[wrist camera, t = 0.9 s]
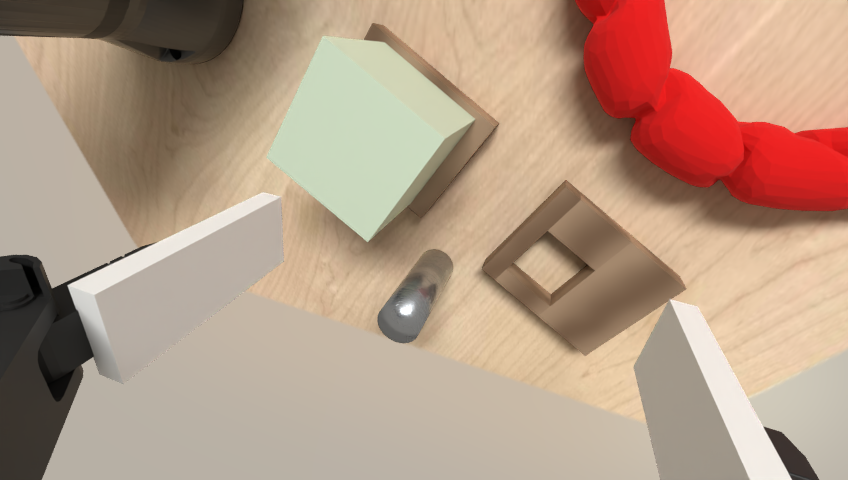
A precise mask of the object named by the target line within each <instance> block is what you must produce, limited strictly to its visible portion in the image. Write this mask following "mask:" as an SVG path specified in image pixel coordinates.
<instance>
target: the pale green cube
mask: <svg viewBox="0 0 848 480" xmlns="http://www.w3.org/2000/svg"><path fill="white" fill-rule="evenodd" d="M475 120H476V119H475V118H473V117H472V116H471V115H470V114H469V113H468V112H466V111H465V110H464V109H463V108H462V107H460V106H459V105H458V104H457V103H456V102H455V101H453V100H452V99H451V98H450V97H449V96H447V95H446V94H445V93H444V92H443V91H442V90H440V89H439V88H438V87H437V86H436V85H434V84H433V83H432V82H431V81H430V80H429V79H427V78H426V77H425V76H424V75H423V74H421V73H420V72H419V71H418V70H417V69H416V68H414V67H413V66H412V65H411V64H410V63H408V62H407V61H406V60H405V59H404V58H403V57H401V56H400V55H399V54H398V53H397V52H395V51H394V50H393V49H392V48H391V47H390V46H388V45H387V44H386V43H385V42H377V41H368V40H359V39H350V38H340V37H331V36H323V37H322V39H321V41H320V43H319V45H318V48H317V50H316V52H315V54H314V56H313V58H312V60H311V63H310V65H309V67H308V69H307V71H306V73H305V75H304V78H303V80H302V82H301V84H300V86H299V88H298V90H297V93H296V95H295V97H294V99H293V101H292V103H291V105H290V108H289V110H288V112H287V114H286V116H285V118H284V121H283V123H282V125H281V127H280V129H279V131H278V133H277V136H276V138H275V140H274V142H273V144H272V146H271V148H270V151H269V153H268V155H267V157H266V158H268V159H269V160H270V161H271V162H272V163H274V164H275V165H276V166H277V167H278V168H280V169H281V170H282V171H283V172H284V173H286V174H287V175H288V176H289V177H290V178H292V179H293V180H294V181H295V182H296V183H298V184H299V185H300V186H301V187H302V188H304V189H305V190H306V191H307V192H308V193H309V194H311V195H312V196H313V197H314V198H315V199H317V200H318V201H319V202H320V203H321V204H323V205H324V206H325V207H326V208H327V209H329V210H330V211H331V212H332V213H333V214H335V215H336V216H337V217H338V218H339V219H341V220H342V221H343V222H344V223H345V224H346V225H348V226H349V227H350V228H351V229H352V230H354V231H355V232H356V233H357V234H358V235H360V236H361V237H362V238H363V239H364V240H366V241H367V242H369V241H370V240H371V239H372V238H373V237H374V236H375V235H376V234H377V233H379V232H380V231H381V230H382V229H383V228H384V227H385V226H386V225H387V224H389V223H390V222H391V221H392V220H393V219H394V218H395V217H396V216H397V215H398V214H400V213H401V212H402V211H403V210H404V209H405V208H406V207H407V206H408V205H410V204H411V203H412V201H413V200H414V199H415V197H416V196H417V195H418V193H419V192H420V191H421V190H422V188H423V187H424V186H425V184H426V183H427V182H428V181H429V179H430V178H431V177H432V175H433V174H434V173H435V171H436V170H437V169H438V168H439V166H440V165H441V164H442V162H443V161H444V160H445V158H446V157H447V156H448V155H449V153H450V152H451V151H452V149H453V148H454V147H455V146H456V144H457V143H458V142H459V140H460V139H461V138H462V136H463V135H464V134H465V133H466V131H467V130H468V129H469V127H470V126H471V125H472V123H473V122H474V121H475Z"/></svg>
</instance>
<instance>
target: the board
mask: <svg viewBox="0 0 848 480" xmlns="http://www.w3.org/2000/svg"><path fill="white" fill-rule="evenodd" d="M364 40H368V41H377V42H385V43H386V44H387V45H388V46H390V47H391V48H392V49H393V50H394V51H395V52H397V53H398V54H399V55H400V56H401V57H403V58H404V59H405V60H406V61H407V62H408V63H410V64H411V65H412V66H413V67H414V68H416V69H417V70H418V71H419V72H420V73H421V74H423V75H424V76H425V77H426V78H427V79H429V80H430V81H431V82H432V83H433V84H434V85H436V86H437V87H438V88H439V89H440V90H442V91H443V92H444V93H445V94H446V95H447V96H449V97H450V98H451V99H452V100H453V101H455V102H456V103H457V104H458V105H459V106H460V107H462V108H463V109H464V110H465V111H466V112H468V113H469V114H470V115H471V116H472V117H473V118H475V119H476V120H475V121H474V122H473V123H472V125H471V126H470V127H469V129H468V130H467V131H466V133H465V134H464V135H463V136H462V138H461V139H460V140H459V142H458V143H457V144H456V146H455V147H454V148H453V149H452V151H451V152H450V153H449V155H448V156H447V157H446V158H445V160H444V161H443V162H442V164H441V165H440V166H439V168H438V169H437V170H436V171H435V173H434V174H433V175H432V177H431V178H430V179H429V181H428V182H427V183H426V184H425V186H424V187H423V188H422V190H421V191H420V192H419V193H418V195H417V196H416V197H415V199H414V200H413V201H412V203H411V204H410V205H408V206H407V207H409V208H410V209H411V210H412V211H413V212H414V213H416V214H417V215H418V216H419V217H420V218H422V217H423V215H424V214H425V213H426V212H427V211H428V210H429V209H430V208H431V206H432V205H433V204H434V203H435V201H436V200H437V199H438V198H439V197H440V195H441V194H442V193H443V192H444V190H445V189H446V188H447V187H448V185H449V184H450V183H451V182H452V181H453V179H454V178H455V177H456V176H457V174H458V173H459V172H460V171H461V169H462V168H463V167H464V166H465V165H466V163H467V162H468V161H469V160H470V158H471V157H472V156H473V155H474V153H475V152H476V151H477V150H478V149H479V147H480V146H481V145H482V144H483V142H484V141H485V140H486V139H487V137H488V136H489V135H490V134H491V133H492V131H493V130H494V129H495V128H496V126H497V125H498V124H499V123H498V122H497V121H496V120H495V119H493V118H492V117H491V116H490V115H489V114H488V113H486V112H485V111H484V110H483V109H482V108H480V107H479V106H478V105H477V104H476V103H475V102H473V101H472V100H471V99H470V98H469V97H467V96H466V95H465V94H464V93H463V92H462V91H460V90H459V89H458V88H457V87H456V86H454V85H453V84H452V83H451V82H450V81H449V80H447V79H446V78H445V77H444V76H443V75H441V74H440V73H439V72H438V71H437V70H436V69H434V68H433V67H432V66H431V65H430V64H428V63H427V62H426V61H425V60H424V59H423V58H421V57H420V56H419V55H418V54H417V53H416V52H414V51H413V50H412V49H411V48H410V47H408V46H407V45H406V44H405V43H404V42H403V41H401V40H400V39H399V38H398V37H397V36H395V35H394V34H393V33H392V32H391V31H390V30H388V29H387V28H386V27H385V26H384V25H379V24H374V23H372V25H371V27H370V29H369V31H368V33H367V35H366V37H365V38H364Z"/></svg>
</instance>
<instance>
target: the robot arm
mask: <svg viewBox="0 0 848 480" xmlns="http://www.w3.org/2000/svg"><path fill="white" fill-rule="evenodd" d="M242 4H243V0H0V35H3V36H34V37H67V38H91V39H100V40H103V41H106V42H109V43H111V44H114V45H117V46H119V47H122V48H125V49H128V50H130V51H133V52H136V53H139V54H141V55H144V56H147V57H150V58H152V59H155V60H158V61H162V62H166V63H173V64H196V63H203V62H206V61H209V60H211V59H213V58H214V57H216V56H217V55H219V54H220V53H221V52H222V51H223V50H224V49H225V48H226V47H227V45H228V44H229V43H230V41H231V39H232V38H233V36H234V34H235V31H236V29H237V26H238V23H239V20H240V16H241V11H242ZM282 262H284V252H283V229H282V205H281V197H280V196H276V195H272V194H268V193H265V192H262V193H260V194H258V195H256V196H254V197H252V198H250V199H247V200H245V201H243V202H241V203H239V204H237V205H235V206H233V207H231V208H229V209H226V210H224V211H222V212H220V213H218V214H216V215H214V216H212V217H210V218H208V219H205V220H203V221H201V222H199V223H197V224H195V225H193V226H191V227H189V228H187V229H184V230H182V231H180V232H178V233H176V234H174V235H172V236H170V237H168V238H166V239H164V240H161V241H159V242H157V243H153V244H149V245H145V246H142V247H140V248H138V249H136V250H133V251H132V252H129V253H127V254H125V256H124V257H122V256H121V257H119V258H117V259H114V260H112V261H110V263H109V264H107V263H106V264H104V265H101V266H99V267H97V268H95V269H93V270H91V271H89V272H87V273H84V274H82V275H80V276H78V277H76V278H74V279H72V280H70V281H67V282H65V283H63V284H61V285H59V286H57V287H55V288H51V285H50V283H49V280H48V278H47V275H46V272H45V270H44V267H43V265H42V262H41V261H40V260H39V259H38V258H37V257H33V256H29V255H9V256H2V257H0V480H42V477H43V475H44V473H45V470H46V467H47V465H48V463H49V460H50V458H51V455H52V453H53V450H54V448H55V445H56V443H57V440H58V437H59V435H60V433H61V430H62V428H63V425H64V423H65V420H66V418H67V415H68V413H69V410H70V408H71V405H72V403H73V400H74V398H75V395H76V393H77V390H78V388H79V385H80V383H81V380H82V378H83V368H82V366H81V364H83V363H85V362H86V361H88V360H89V359H91V358H92V357H94V360H95V363H96V366H97V368H98V371H99V374H100V375H103V376H105V377H108V378H110V379H112V380H115V381H117V382H120V383H122V384H124V383H125V382H127V381H128V380H129V379H130V378H132V377H133V376H135V375H136V374H137V373H138V372H140V371H141V370H142V369H143V368H145V367H146V366H148V365H149V364H150V363H152V362H153V361H154V360H155V359H157V358H158V357H159V356H161V355H162V354H163V353H165V352H166V351H167V350H168V349H170V348H171V347H172V346H174V345H175V344H176V343H178V342H179V341H180V340H181V339H183V338H184V337H186V336H187V335H188V334H189V333H190V332H192V331H193V330H195V329H196V328H197V327H199V326H200V325H201V324H202V323H204V322H205V321H206V320H208V319H209V318H210V317H212V316H213V315H214V314H216V313H217V312H218V311H220V310H221V309H222V308H223V307H225V306H226V305H227V304H229V303H230V302H231V301H233V300H234V299H235V298H236V297H238V296H239V295H240V294H242V293H243V292H244V291H246V290H247V289H248V288H250V287H251V286H252V285H254V284H255V283H256V282H257V281H259V280H260V279H261V278H263V277H264V276H265V275H267V274H268V273H269V272H271V271H272V270H273V269H274V268H276V267H277V266H278V265H280V264H281V263H282ZM634 371H635V375H636V379H637V383H638V387H639V392H640V396H641V400H642V404H643V409H644V413H645V417H646V421H647V425H648V430H649V434H650V438H651V442H652V447H653V451H654V455H655V459H656V463H657V468H658V472H659V476H660V480H819V479H818V477H817V475H816V474H815V472H814V470H813V469H812V467H811V466H810V464H809V462H808V461H807V459H806V457H805V456H804V455H803V454H802V453H801V452H800V451H799V450H798V449H797V448H796V447H795V446H794V445H793V443H792V442H791V441H790V440H789V439H788V438H787V437H786V436H785V435H784V434H783V433H782V432H779V431H776V430H773V429H769V428H766V427H763V426H762V424H761V422H760V420H759V418H758V417H757V415H756V413H755V411H754V409H753V407H752V406H751V404H750V402H749V400H748V398H747V396H746V394H745V393H744V391H743V389H742V387H741V385H740V383H739V381H738V380H737V378H736V376H735V374H734V372H733V370H732V369H731V367H730V365H729V363H728V361H727V359H726V358H725V356H724V354H723V352H722V350H721V348H720V347H719V345H718V343H717V341H716V339H715V337H714V335H713V334H712V332H711V330H710V328H709V326H708V324H707V323H706V321H705V319H704V317H703V315H702V313H701V312H700V310H699V308H698V307H697V306H694V305H690V304H686V303H682V302H678V301H675V300H671V299H669V301H668V303H667V305H666V307H665V308H664V310H663V312H662V314H661V316H660V318H659V320H658V322H657V324H656V325H655V327H654V329H653V331H652V333H651V335H650V337H649V339H648V340H647V342H646V344H645V346H644V348H643V350H642V352H641V354H640V356H639V357H638V359H637V361H636V363H635V365H634Z"/></svg>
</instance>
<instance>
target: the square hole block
mask: <svg viewBox="0 0 848 480" xmlns="http://www.w3.org/2000/svg"><path fill="white" fill-rule="evenodd" d="M547 231H549V232H550V233H551V234H552V235H553V236H554V237H556V238H557V239H558V240H559V241H560V242H562V243H563V244H564V245H565V246H566V247H567V248H569V249H570V250H571V251H572V252H573V253H575V254H576V255H577V256H578V257H579V258H581V259H582V260H583V261H584V262H585V263H586V264H588V265H587V266H586V267H584V268H583V269H582V270H581V271H579V272H578V273H577V274H576V275H575V276H573V277H572V278H571V279H570V280H568V281H567V282H566V283H565V284H563V285H562V286H561V287H560V288H559V289H557V290H556V291H555V292H554V293H552V294H550V293H548V292H547V291H546V290H545V289H544V288H542V287H541V286H540V285H539V284H538V283H536V282H535V281H534V280H533V279H532V278H531V277H529V276H528V275H527V274H526V273H525V272H523V271H522V270H521V269H520V268H519V267H517V266H516V265H515V264H514V262H515V261H516V260H517V259H518V258H519V257H520V256H521V255H522V254H523V253H524V252H525V251H526V250H528V249H529V248H530V247H531V246H532V245H533V244H534V243H535V242H536V241H537V240H538V239H539V238H540V237H541V236H543V235H544V234H545V233H546V232H547ZM482 270H483V271H485V272H486V273H487V274H488V275H489V276H491V277H492V278H493V279H494V280H495V281H497V282H498V283H499V284H500V285H501V286H503V287H504V288H505V289H506V290H507V291H508V292H510V293H511V294H512V295H513V296H514V297H516V298H517V299H518V300H519V301H520V302H522V303H523V304H524V305H525V306H526V307H527V308H529V309H530V310H531V311H532V312H533V313H535V314H536V315H537V316H538V317H539V318H541V319H542V320H543V321H544V322H545V323H547V324H548V325H549V326H550V327H551V328H552V329H554V330H555V331H556V332H557V333H558V334H560V335H561V336H562V337H563V338H564V339H566V340H567V341H568V342H569V343H570V344H572V345H573V346H574V347H575V348H576V349H577V350H579V351H580V352H581V353H582V354H583V355H585V356H586V355H587V354H589V353H590V352H592V351H593V350H595V349H596V348H598V347H599V346H601V345H602V344H604V343H605V342H607V341H608V340H610V339H611V338H613V337H614V336H616V335H618V334H619V333H621V332H622V331H624V330H625V329H627V328H628V327H630V326H631V325H633V324H634V323H636V322H637V321H639V320H640V319H642V318H643V317H645V316H646V315H648V314H649V313H651V312H652V311H654V310H655V309H657V308H658V307H660V306H661V305H663V304H664V303H666V302H668V301H669V299H672V298H674V297H675V296H677V295H678V294H680V293H681V292H683V291H684V290H686V287H685V285H684V283H683V281H682V280H681V278H680V276H679V275H678V274H676V273H675V272H674V271H673V270H672V269H670V268H669V267H668V266H667V265H666V264H665V263H663V262H662V261H661V260H660V259H659V258H657V257H656V256H655V255H654V254H653V253H652V252H650V251H649V250H648V249H647V248H646V247H644V246H643V245H642V244H641V243H640V242H639V241H637V240H636V239H635V238H634V237H633V236H632V235H630V234H629V233H628V232H627V231H626V230H624V229H623V228H622V227H621V226H620V225H619V224H617V223H616V222H615V221H614V220H613V219H611V218H610V217H609V216H608V215H607V214H606V213H604V212H603V211H602V210H601V209H600V208H598V207H597V206H596V205H595V204H594V203H593V202H591V201H590V200H589V199H588V198H587V197H585V196H584V195H583V194H582V193H581V192H580V191H578V190H577V189H576V188H575V187H574V186H572V185H571V184H570V183H569V182H568V181H567V180H565V181H564V182H563V183H562V184H561V185H560V186H559V187H558V188H557V189H556V190H555V191H554V192H553V193H552V194H551V195H550V196H549V197H548V198H547V199H546V200H545V201H544V202H543V203H542V204H541V205H540V206H539V207H538V208H537V209H536V210H535V211H534V212H533V213H532V214H531V215H530V216H529V217H528V218H527V219H526V220H525V221H524V222H523V223H522V224H521V225H520V226H519V227H518V228H517V229H516V230H515V231H514V232H513V233H512V234H511V235H510V236H509V237H508V238H507V239H506V240H505V241H504V242H503V243H502V244H501V245H500V246H499V247H498V248H497V249H496V250H495V251H494V252H493V253H492V254H491V255H490V256H489V257H488V258H487V259H486V260H485V262H484V265H483V267H482Z"/></svg>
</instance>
